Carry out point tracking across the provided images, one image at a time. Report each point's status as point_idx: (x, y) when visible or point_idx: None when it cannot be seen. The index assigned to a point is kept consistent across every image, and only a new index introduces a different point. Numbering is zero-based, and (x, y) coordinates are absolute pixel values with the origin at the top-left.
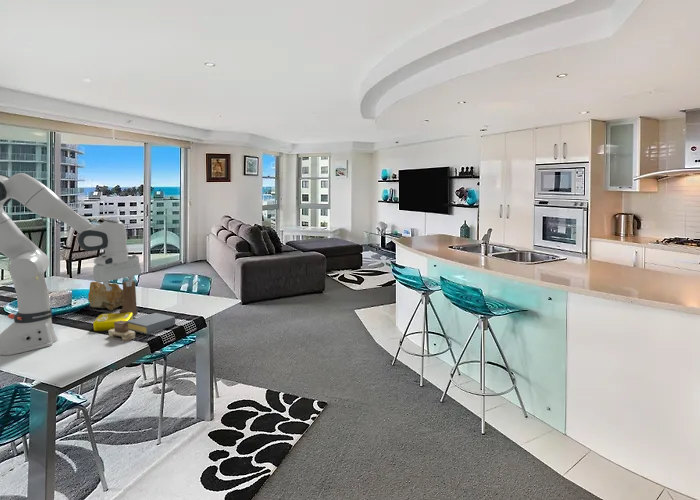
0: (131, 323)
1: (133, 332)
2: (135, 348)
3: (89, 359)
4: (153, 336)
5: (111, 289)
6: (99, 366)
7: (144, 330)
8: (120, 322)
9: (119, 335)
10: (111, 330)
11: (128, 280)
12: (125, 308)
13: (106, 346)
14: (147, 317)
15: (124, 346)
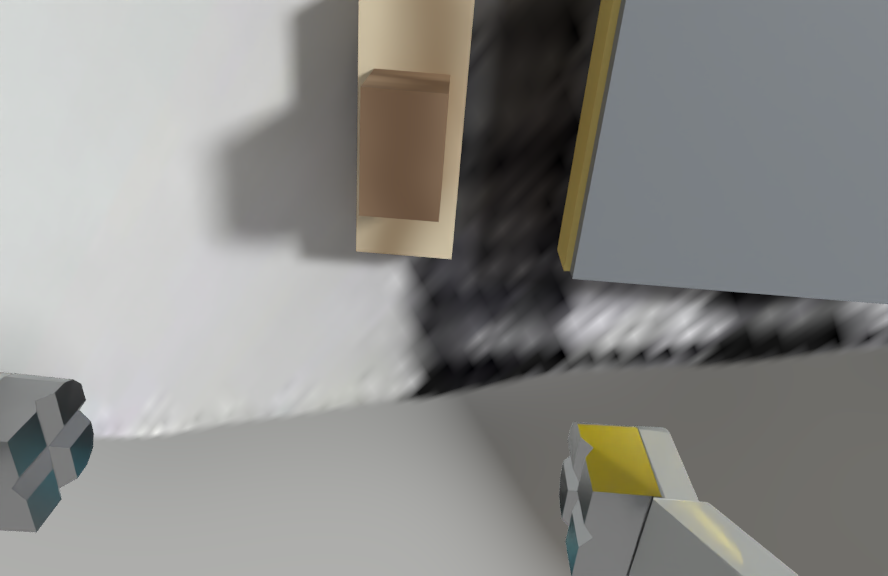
0: (614, 42)
1: (434, 257)
2: (305, 390)
3: (12, 297)
4: (543, 322)
5: (70, 469)
6: None
7: (562, 240)
8: (394, 155)
9: None
10: (368, 19)
11: (692, 545)
12: None
13: (208, 189)
14: (840, 58)
15: (287, 303)
